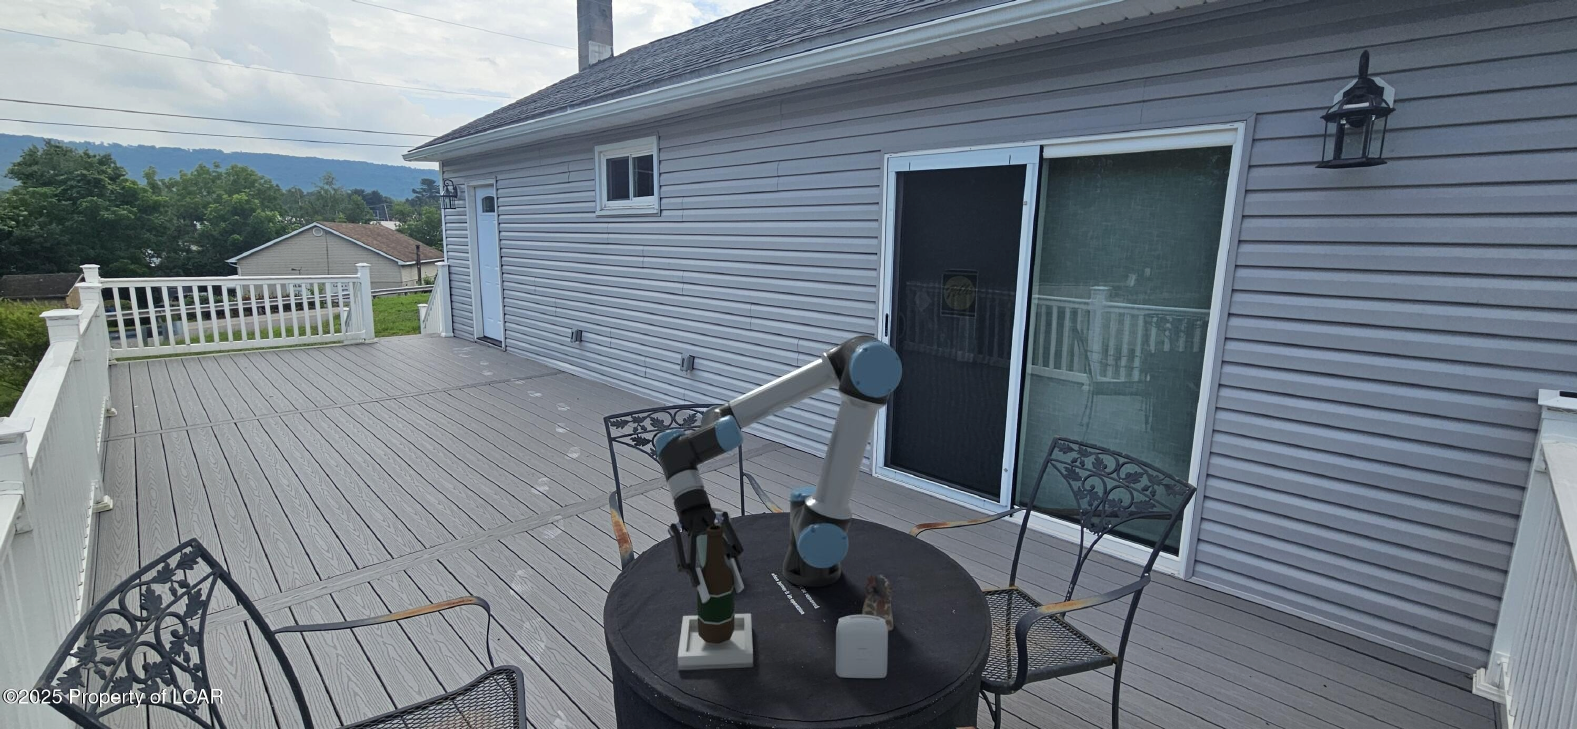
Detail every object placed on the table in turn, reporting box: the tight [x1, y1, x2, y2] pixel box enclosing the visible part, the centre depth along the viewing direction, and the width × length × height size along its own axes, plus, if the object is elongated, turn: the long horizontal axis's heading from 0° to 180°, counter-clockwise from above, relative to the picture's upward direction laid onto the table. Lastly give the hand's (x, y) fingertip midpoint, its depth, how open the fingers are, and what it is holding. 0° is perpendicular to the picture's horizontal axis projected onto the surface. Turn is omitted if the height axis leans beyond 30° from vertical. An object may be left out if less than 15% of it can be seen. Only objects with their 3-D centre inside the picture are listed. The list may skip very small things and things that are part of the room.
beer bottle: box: [696, 525, 736, 644], centre depth 139 cm, size 8×8×24 cm
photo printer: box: [835, 614, 889, 679], centre depth 132 cm, size 10×4×12 cm, turn 88°
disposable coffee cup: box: [696, 505, 732, 569], centre depth 177 cm, size 11×11×15 cm
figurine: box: [861, 573, 894, 632], centre depth 150 cm, size 7×7×12 cm
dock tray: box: [677, 613, 754, 671], centre depth 142 cm, size 15×15×3 cm
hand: (723, 595), depth 137 cm, fingers closed on beer bottle, 7 cm apart
